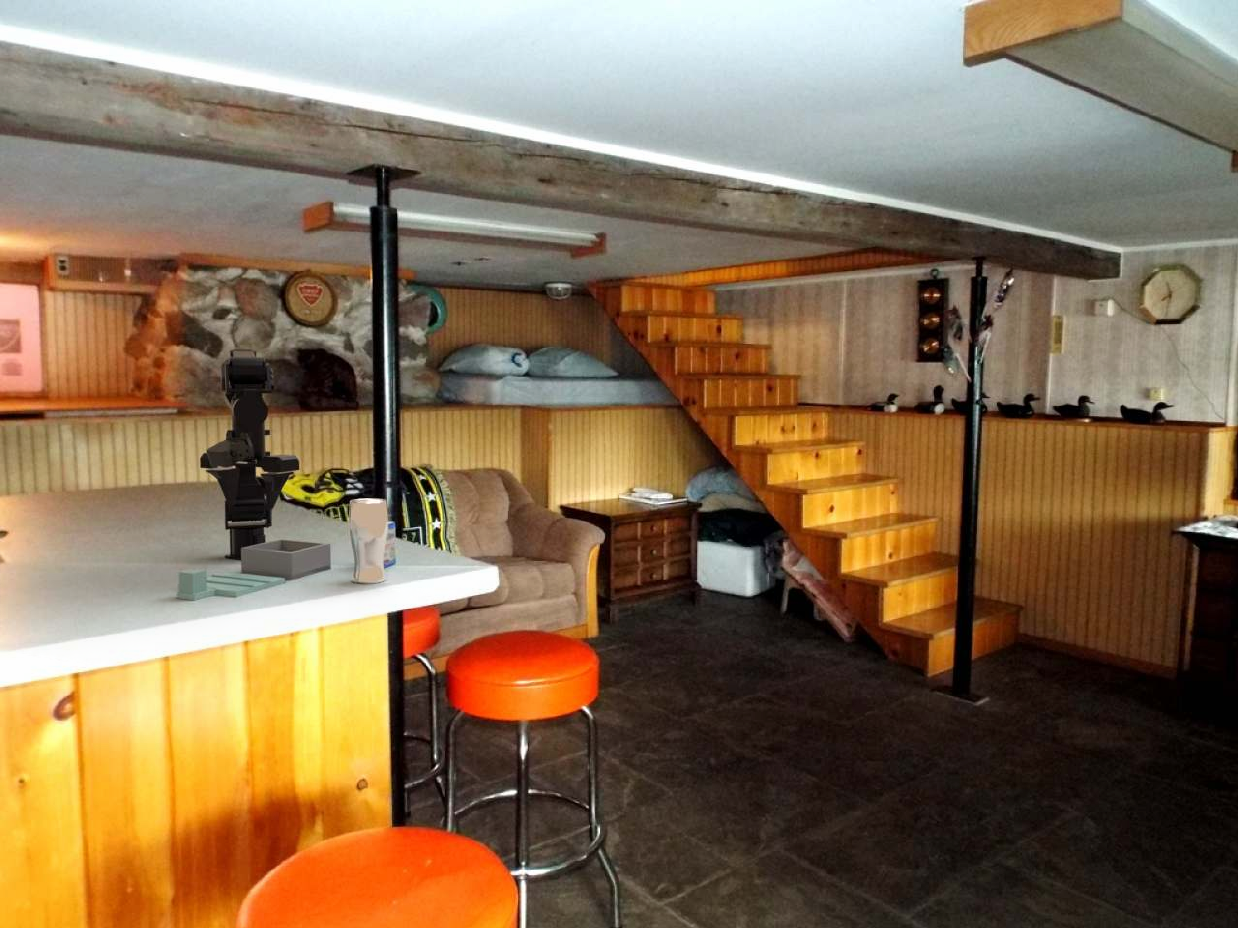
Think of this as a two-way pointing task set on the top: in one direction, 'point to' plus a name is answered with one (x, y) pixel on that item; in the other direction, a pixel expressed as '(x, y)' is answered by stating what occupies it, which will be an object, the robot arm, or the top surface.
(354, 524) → the beer glass
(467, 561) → the top surface
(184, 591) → the lid
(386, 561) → the medicine box
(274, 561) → the tub
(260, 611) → the top surface
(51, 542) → the top surface
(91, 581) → the top surface
